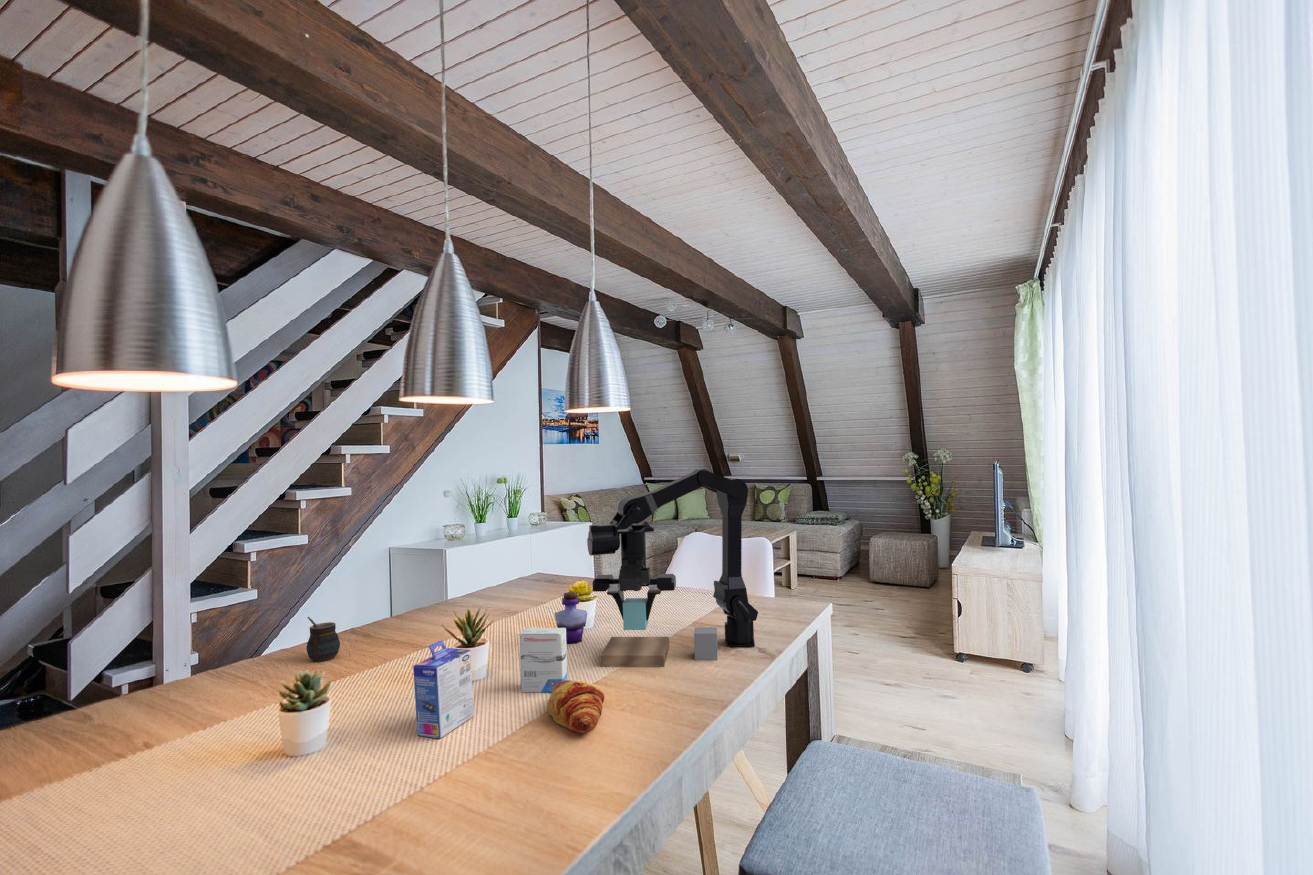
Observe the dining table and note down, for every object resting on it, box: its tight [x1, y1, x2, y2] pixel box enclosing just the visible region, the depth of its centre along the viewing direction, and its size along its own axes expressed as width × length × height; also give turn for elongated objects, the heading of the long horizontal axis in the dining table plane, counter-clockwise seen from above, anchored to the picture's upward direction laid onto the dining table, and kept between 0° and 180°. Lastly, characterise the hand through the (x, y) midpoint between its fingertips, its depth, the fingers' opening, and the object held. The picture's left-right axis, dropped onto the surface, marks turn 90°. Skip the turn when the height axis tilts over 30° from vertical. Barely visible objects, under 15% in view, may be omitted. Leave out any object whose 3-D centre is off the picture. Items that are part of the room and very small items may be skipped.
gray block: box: [693, 626, 719, 661], centre depth 150 cm, size 5×5×6 cm
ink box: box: [518, 627, 568, 693], centre depth 133 cm, size 8×5×12 cm, turn 84°
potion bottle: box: [554, 591, 588, 645], centre depth 165 cm, size 9×9×12 cm
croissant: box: [546, 679, 606, 734], centre depth 119 cm, size 21×10×8 cm, turn 18°
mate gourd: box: [306, 616, 341, 663], centre depth 157 cm, size 7×8×10 cm
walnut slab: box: [599, 636, 670, 668], centre depth 151 cm, size 14×14×3 cm
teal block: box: [622, 597, 649, 631], centre depth 151 cm, size 5×5×6 cm
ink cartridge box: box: [412, 640, 475, 739], centre depth 116 cm, size 10×6×14 cm, turn 161°
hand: (635, 620), depth 151 cm, fingers closed on teal block, 5 cm apart
